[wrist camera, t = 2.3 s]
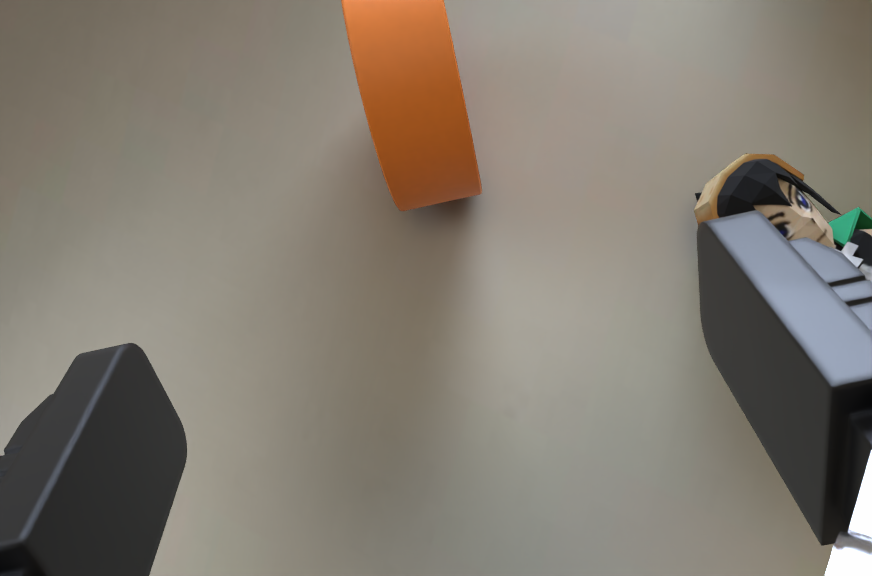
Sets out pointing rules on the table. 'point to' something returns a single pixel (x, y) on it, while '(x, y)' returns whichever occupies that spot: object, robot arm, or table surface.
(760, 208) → the figurine
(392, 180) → the disc
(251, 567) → the table surface
